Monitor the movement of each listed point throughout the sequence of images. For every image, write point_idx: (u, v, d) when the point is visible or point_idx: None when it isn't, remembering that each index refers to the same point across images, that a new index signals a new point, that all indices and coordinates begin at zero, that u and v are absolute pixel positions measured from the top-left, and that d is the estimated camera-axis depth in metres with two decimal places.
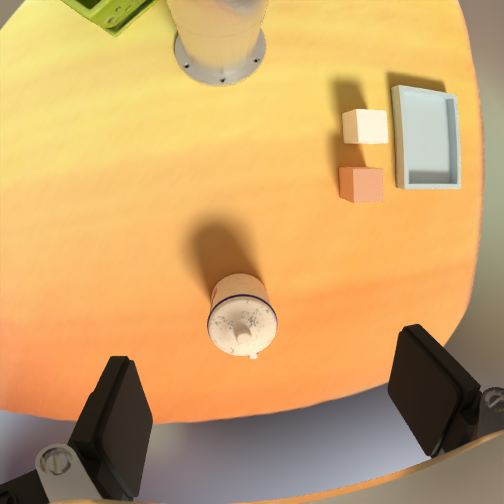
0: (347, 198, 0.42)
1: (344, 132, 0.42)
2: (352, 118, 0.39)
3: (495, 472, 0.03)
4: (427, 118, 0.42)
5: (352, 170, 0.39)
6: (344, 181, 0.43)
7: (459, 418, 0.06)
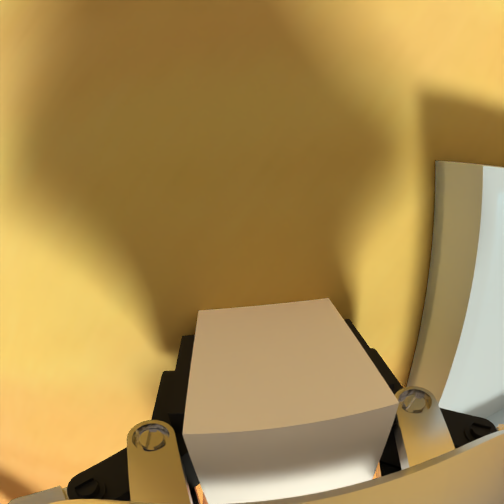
0: None
1: None
2: None
3: (495, 472, 0.03)
4: None
5: None
6: None
7: None
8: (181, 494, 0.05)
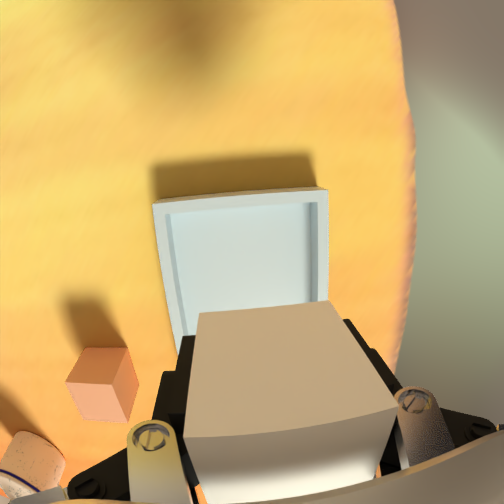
0: None
1: None
2: None
3: (495, 472, 0.03)
4: (249, 252, 0.24)
5: None
6: None
7: None
8: (181, 494, 0.05)
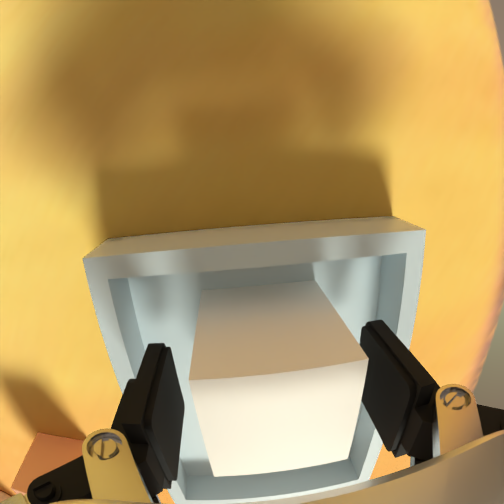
0: None
1: None
2: None
3: (495, 472, 0.03)
4: None
5: (14, 486, 0.10)
6: None
7: (414, 414, 0.07)
8: (142, 498, 0.04)
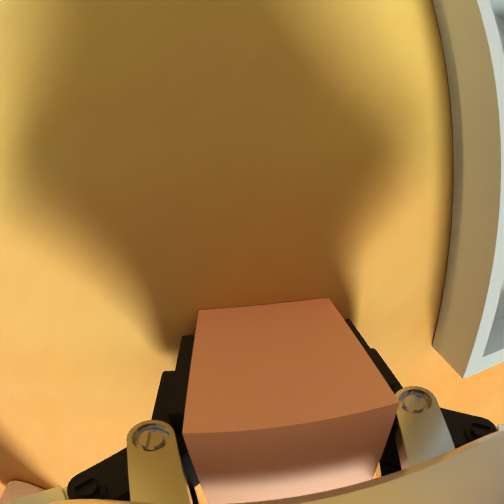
0: None
1: None
2: None
3: (495, 472, 0.03)
4: None
5: None
6: None
7: None
8: (181, 494, 0.05)
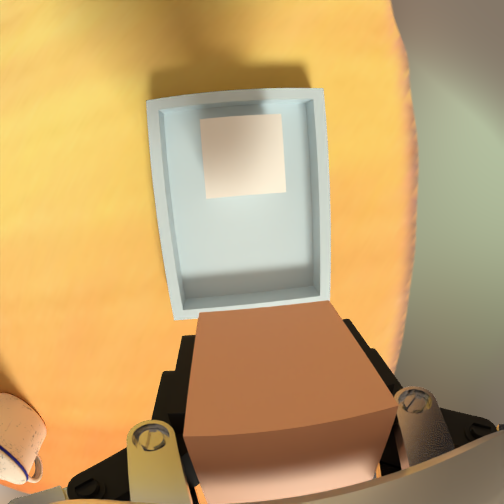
0: None
1: None
2: None
3: (495, 472, 0.03)
4: None
5: None
6: None
7: None
8: (181, 494, 0.05)
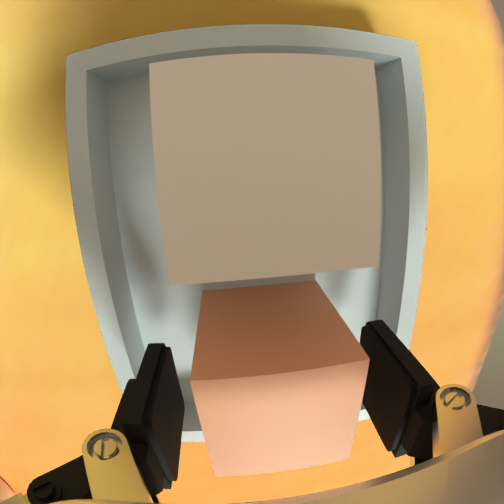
0: None
1: None
2: None
3: (495, 472, 0.03)
4: None
5: None
6: None
7: (414, 414, 0.07)
8: (142, 498, 0.04)
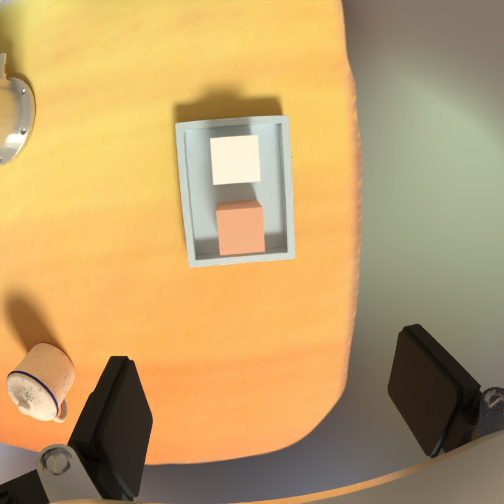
0: None
1: None
2: None
3: (495, 472, 0.03)
4: None
5: None
6: None
7: (459, 418, 0.06)
8: None
